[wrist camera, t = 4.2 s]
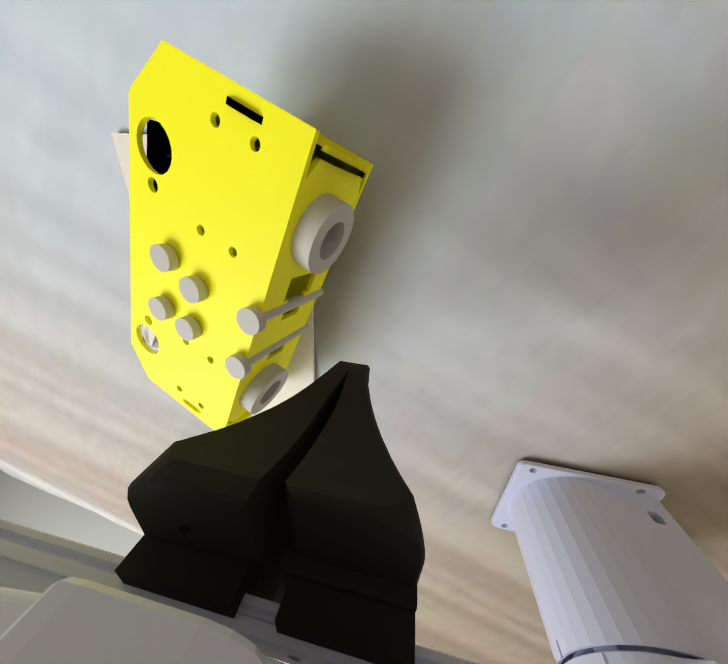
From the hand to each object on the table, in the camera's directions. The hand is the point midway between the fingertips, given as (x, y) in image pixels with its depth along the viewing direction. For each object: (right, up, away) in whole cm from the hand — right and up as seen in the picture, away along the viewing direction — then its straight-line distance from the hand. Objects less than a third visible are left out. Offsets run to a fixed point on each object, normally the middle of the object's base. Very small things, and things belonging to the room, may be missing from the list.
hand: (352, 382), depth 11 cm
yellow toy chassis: (-3, +2, +2) cm, 4 cm away
